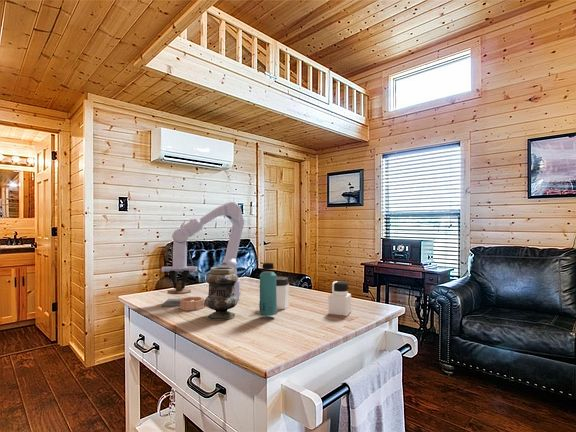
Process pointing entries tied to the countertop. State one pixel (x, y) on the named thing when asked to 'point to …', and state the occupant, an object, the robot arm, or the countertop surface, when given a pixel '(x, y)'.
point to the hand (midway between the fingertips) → (179, 288)
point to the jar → (282, 292)
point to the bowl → (192, 303)
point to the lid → (179, 289)
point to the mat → (171, 303)
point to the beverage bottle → (268, 291)
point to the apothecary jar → (221, 292)
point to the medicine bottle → (340, 299)
